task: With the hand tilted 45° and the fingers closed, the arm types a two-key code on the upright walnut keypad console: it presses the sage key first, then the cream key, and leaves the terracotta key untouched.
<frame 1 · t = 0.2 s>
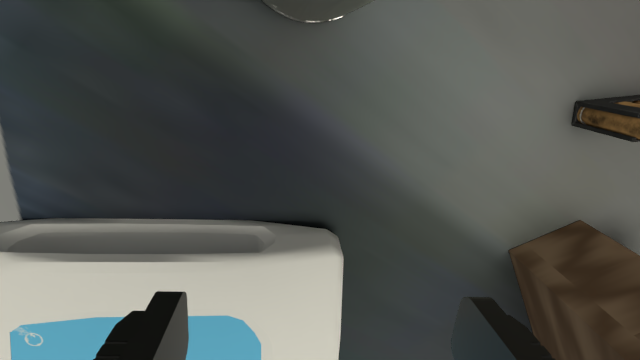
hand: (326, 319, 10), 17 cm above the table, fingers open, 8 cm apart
ammunition clip: (637, 106, 28), on the table
keypad console: (579, 348, 36), on the table
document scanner: (170, 323, 32), on the table
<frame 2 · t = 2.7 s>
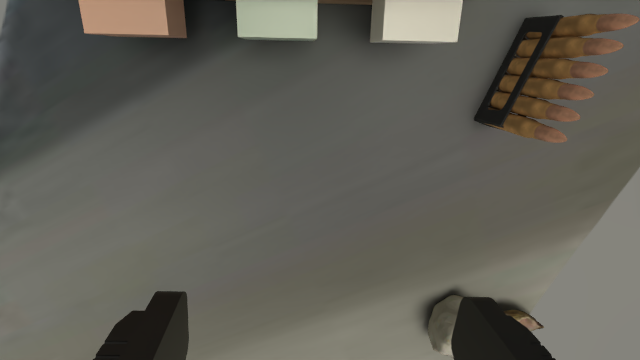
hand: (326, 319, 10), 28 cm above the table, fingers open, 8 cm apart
ammunition clip: (504, 74, 37), on the table
ceramic sculpture: (467, 318, 47), on the table
cream key: (414, 2, 26), point 8 cm above the table, slide at 0.0 cm
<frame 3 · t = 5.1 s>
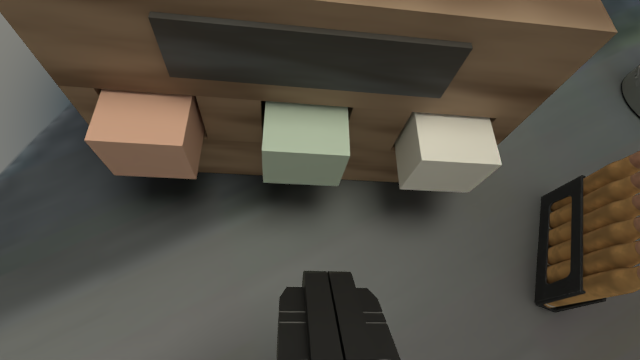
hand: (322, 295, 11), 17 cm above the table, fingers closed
terracotta key: (154, 125, 24), point 8 cm above the table, slide at 0.0 cm
ammunition clip: (546, 250, 32), on the table
keypad console: (297, 153, 34), on the table
cream key: (441, 144, 26), point 8 cm above the table, slide at 0.0 cm
sage key: (304, 135, 25), point 8 cm above the table, slide at 0.0 cm
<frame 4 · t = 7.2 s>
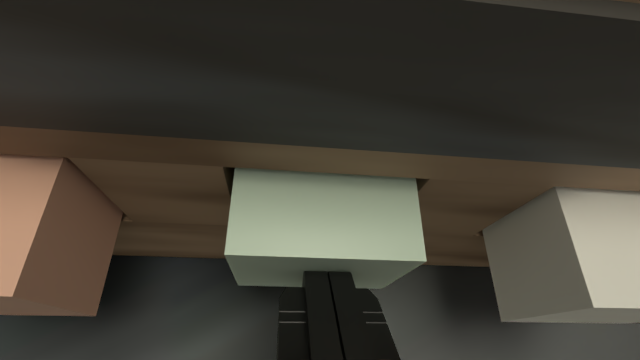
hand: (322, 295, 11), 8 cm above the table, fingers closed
keypad console: (302, 217, 21), on the table
cream key: (587, 237, 13), point 8 cm above the table, slide at 0.0 cm
sage key: (318, 196, 13), point 8 cm above the table, slide at 1.1 cm, touching gripper
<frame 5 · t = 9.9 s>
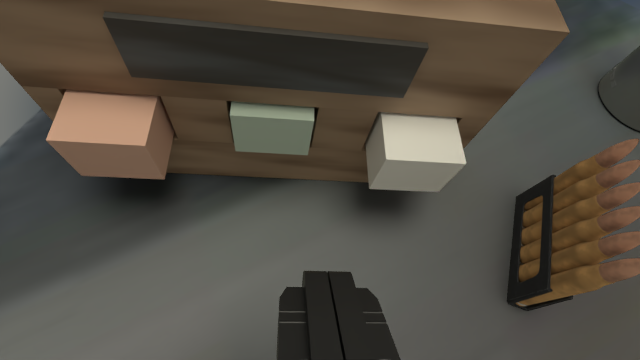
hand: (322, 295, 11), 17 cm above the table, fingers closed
terracotta key: (121, 126, 24), point 8 cm above the table, slide at 0.0 cm
ammunition clip: (520, 249, 33), on the table
keypad console: (273, 154, 34), on the table
cream key: (409, 143, 26), point 8 cm above the table, slide at 0.0 cm
sage key: (274, 105, 26), point 8 cm above the table, slide at 2.6 cm
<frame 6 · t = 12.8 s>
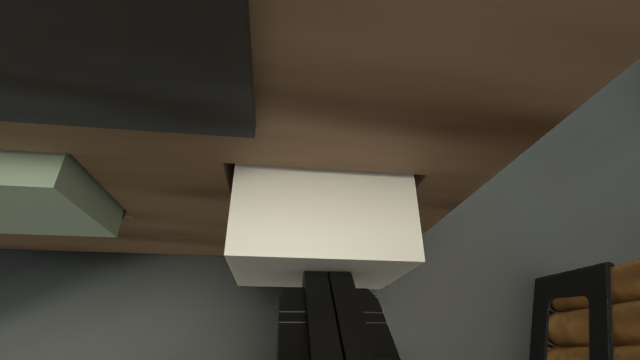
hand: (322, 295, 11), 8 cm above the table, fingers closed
keypad console: (121, 207, 20), on the table
cream key: (318, 196, 13), point 8 cm above the table, slide at 1.0 cm, touching gripper
sage key: (30, 138, 12), point 8 cm above the table, slide at 2.6 cm
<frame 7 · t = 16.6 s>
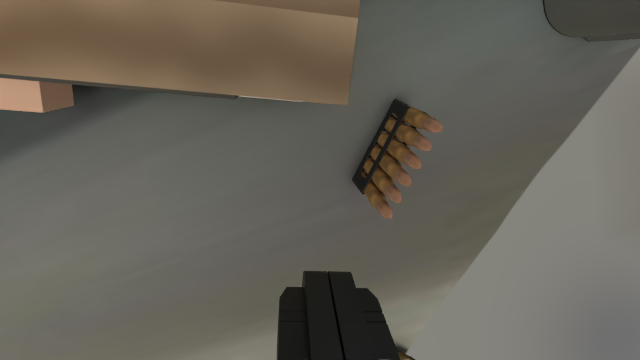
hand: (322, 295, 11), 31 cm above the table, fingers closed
terracotta key: (18, 71, 29), point 8 cm above the table, slide at 0.0 cm
ammunition clip: (378, 143, 42), on the table
keypad console: (175, 45, 36), on the table
cream key: (272, 63, 30), point 8 cm above the table, slide at 2.6 cm
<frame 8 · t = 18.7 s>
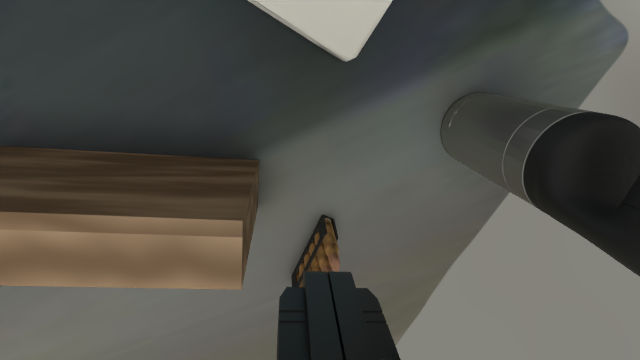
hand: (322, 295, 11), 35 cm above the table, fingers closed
ammunition clip: (312, 247, 51), on the table
keypad console: (138, 183, 45), on the table
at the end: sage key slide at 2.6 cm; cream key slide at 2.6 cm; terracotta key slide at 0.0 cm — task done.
